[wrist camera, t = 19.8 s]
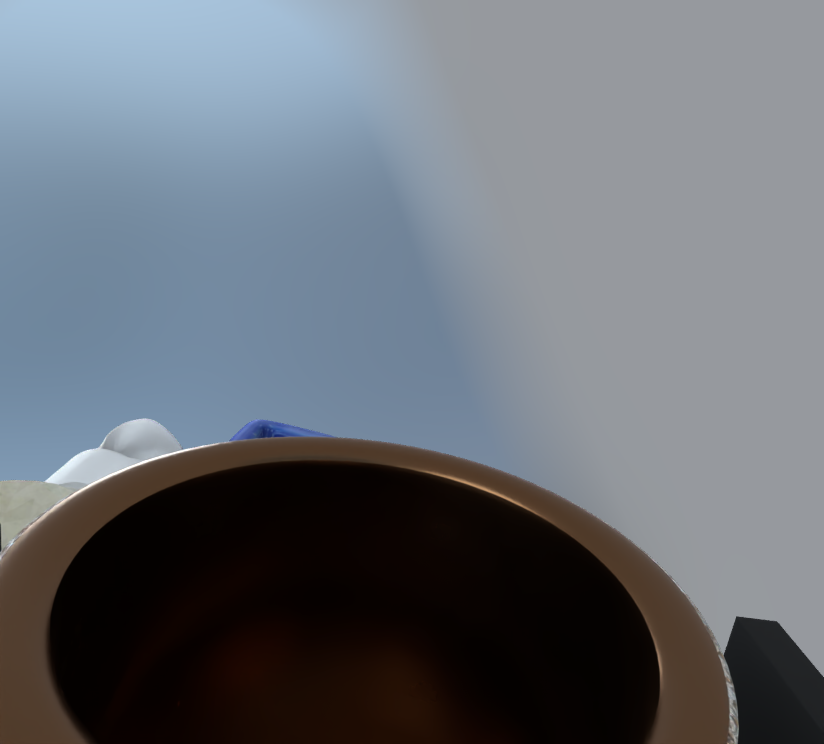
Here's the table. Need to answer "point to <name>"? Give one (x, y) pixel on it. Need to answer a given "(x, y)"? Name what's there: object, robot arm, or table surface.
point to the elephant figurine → (117, 453)
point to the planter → (344, 609)
